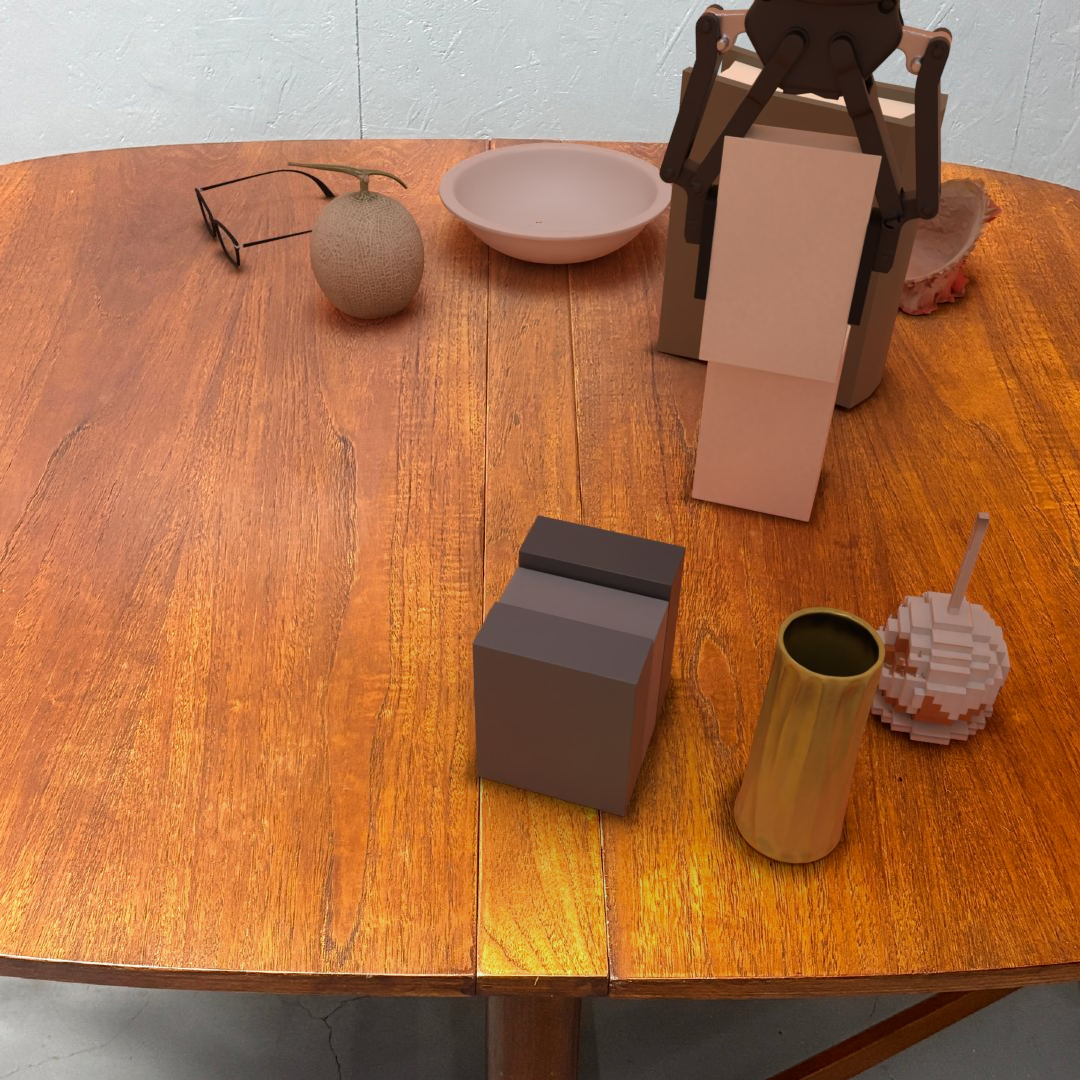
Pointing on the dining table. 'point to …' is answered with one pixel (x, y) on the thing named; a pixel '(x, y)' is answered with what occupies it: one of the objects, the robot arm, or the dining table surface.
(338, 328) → the dining table surface
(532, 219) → the soup bowl
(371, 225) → the fruit
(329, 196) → the eyeglasses
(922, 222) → the seashell
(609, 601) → the grey books
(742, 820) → the vase
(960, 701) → the pale rounded piece
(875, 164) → the white book
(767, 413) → the white books
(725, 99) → the book
